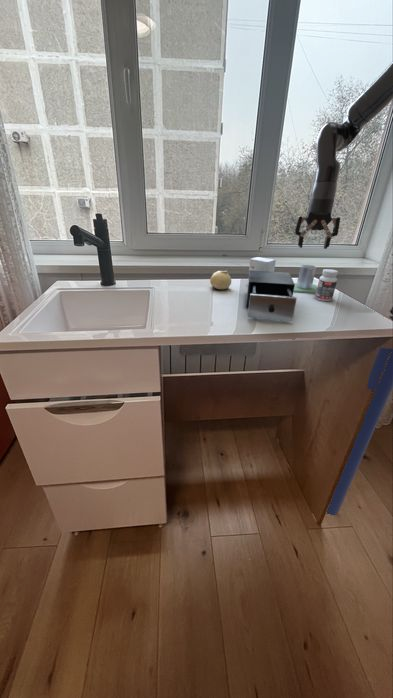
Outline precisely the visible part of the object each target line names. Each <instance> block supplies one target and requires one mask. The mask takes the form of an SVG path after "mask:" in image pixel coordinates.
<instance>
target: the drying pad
mask: <svg viewBox="0 0 393 698" xmlns="http://www.w3.org/2000/svg"><path fill="white" fill-rule="evenodd" d="M294 284H295V286H294V291H293V293H305V294H316V291H317V285H316V284H312V288H311V289H300V288H297V282H294Z"/></svg>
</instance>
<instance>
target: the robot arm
mask: <svg viewBox="0 0 393 698" xmlns="http://www.w3.org/2000/svg"><path fill="white" fill-rule="evenodd" d="M392 101H393V61H391V63H389V64H388V66H387V67H386V68H385V69H384V70H383V71H382V72H381V74H380V75H378V77H377V78H376V79H375V80H373V81H372V83H371V84H370V85H369V86H368V87H366V89H364V91H362V93H361V94H360V95H359V96H358V97H357V98H356V99H355V100H354V101H353V102H352V103H350V105H349V107H348V108H347V111H346V119H345V120H344V121H343V122H342V123H340V122H337V121H336V122H335V121H329V122H326V123H325V124H324V125H323V126H322V127H321V128H320V131H319V133H318V135H317V138H316V146H315V147H316V148H315V153H316V154H315V155H316V171H315V177H314V182H313V186H312V190H311V194H310V199H309V200H310V201H309V205H308V206H309V207H308V212H307V215H306V216H302V215H298V216H297V220H296V224H295V227H294V228H295V229H294V234H295V235H296V236H298V241H297V246H298V247H299V249H302V248H303V245H304V240H305V239H304V238H305V236H306V234H307V233H308V232H310V230H311V231H323V232H324V234H325V235H326V236H325V239H324V242H323V244H324V245H323V249H324V250H327V249H328V248H329V247H330V243H331V240H332V238H333V237H337V236H338V235H339V229H340V224H341V217H339V216H335V217H334V216H333V217H332V213H333V207H334V202H335V199H336V194H337V187H338V180H339V175H340V171H341V162H340V161H339V160H337V153H338V152H341V151H343V150H344V149H346V148H347V147H349V146H350V145H351V144H352V143H353V142H354V141H355V139H356V138H357V137H358V136H359V134H360V133H361V132H362V130H363V129H364V128H365V126H366V125H367V124H369V123H370V122H371V121H372V120H373V119H375V118H376V116H378V115H379V114H380V113H382V111H383V110H384V109H385V108H387V106H388V105H390V103H391V102H392ZM304 221H305V222H306V225H305V227H304V228H303V229H302V230H301V225H302V224H303V223H304ZM330 223H332V224H333V228H332V232H331V230H330V228H329V226H328V225H330ZM300 230H301V231H300ZM388 313H390V314H391V315H388V318H389V319H391V321H393V305H392V306H391V308H390V310H389V312H388Z"/></svg>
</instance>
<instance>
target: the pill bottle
mask: <svg viewBox="0 0 393 698" xmlns="http://www.w3.org/2000/svg"><path fill="white" fill-rule="evenodd" d="M338 274H339V270H336V269H331V268H326V269H325V268H324V269H323V270H322V275H321V276H319V279H318V283H317V285H316V287H317V291H316V293H315V295H314V298H315V299H316V300H318V301H322V302H330V301H332V300H333V298H334V294H335V290H336V287H337V283H338V278H337V276H338Z"/></svg>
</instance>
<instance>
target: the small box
mask: <svg viewBox="0 0 393 698" xmlns="http://www.w3.org/2000/svg"><path fill="white" fill-rule="evenodd" d="M275 267H276V259H273V258H266V257H262V256H255V257H252V258H250V259H249V268H248V271H249V270H253V271H269V272H275V269H276V268H275ZM248 279H249V277H248ZM248 279H247V280H248Z"/></svg>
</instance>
